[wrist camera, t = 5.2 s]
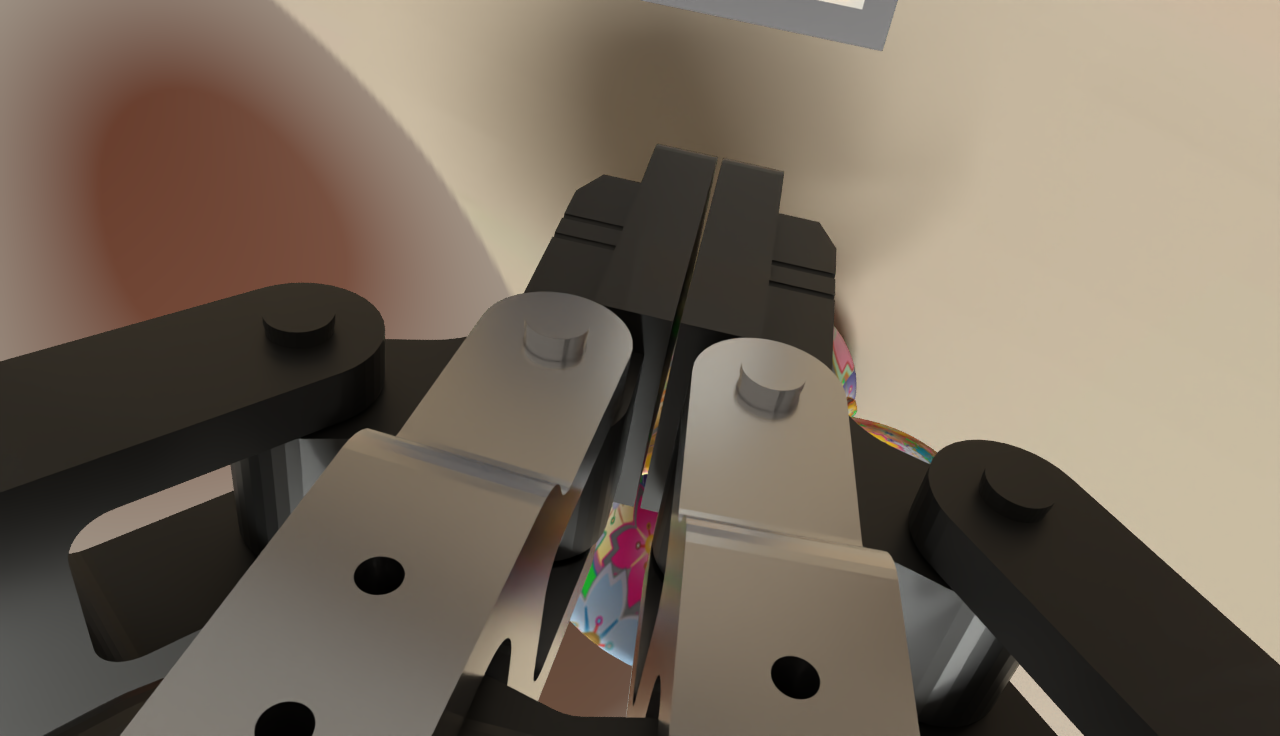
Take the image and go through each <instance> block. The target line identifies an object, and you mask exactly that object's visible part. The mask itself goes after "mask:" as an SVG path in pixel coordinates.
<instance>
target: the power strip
mask: <svg viewBox="0 0 1280 736" xmlns="http://www.w3.org/2000/svg"><path fill="white" fill-rule="evenodd" d="M642 1H647V2H652V3H656V4H661V5H666V6H671V7H675V8H680V9H685V10H689V11H694V12H699V13H704V14H708V15H713V16H718V17H723V18H727V19H732V20H737V21H742V22H746V23H751V24H756V25H760V26H765V27H770V28H775V29H779V30H784V31H789V32H794V33H798V34H803V35H808V36H813V37H817V38H822V39H827V40H831V41H836V42H841V43H846V44H850V45H855V46H860V47H865V48H869V49H874V50H879V51H883V47H884V44H885V41H886V37H887V34H888V31H889V28H890V24H891V21H892V18H893V14H894V11H895V8H896V5H897V1H898V0H865V1H864V5H863V8H862V9H857V8H853V7H848V6H843V5H838V4H834V3H829V2H824V1H819V0H642Z"/></svg>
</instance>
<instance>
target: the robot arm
mask: <svg viewBox="0 0 1280 736" xmlns="http://www.w3.org/2000/svg"><path fill="white" fill-rule="evenodd" d="M717 159H718V157H715V156H710V155H706V154H701V153H697V152H692V151H688V150H683V149H679V148H674V147H670V146H665V145H661V144H657V145H656V147H655V149H654V152H653V154H652V157H651V159H650V162H649V164H648V167H647V170H646V172H645V175H644V177H643V180H642V182H641V183H639V182H635V181H630V180H626V179H621V178H617V177H612V176H608V175H602V176H601V177H599V178H597V179H595V180H594V181H592V182H590V183H588V184H587V185H585V186H583V187H581V188H580V189H578V190H576V192H575V194H574V196H573V198H572V200H571V202H570V204H569V206H568V208H567V210H566V212H565V214H564V218H562V219H561V221H560V223H559V225H558V227H557V229H556V231H555V235H554V237H552V239H551V241H550V243H549V245H548V247H547V249H546V251H545V253H544V255H543V257H542V258H541V260H540V262H539V264H538V266H537V268H536V270H535V272H534V274H533V276H532V278H531V280H530V282H529V284H528V286H527V288H526V290H525V292H524V293H523V294H518V295H514V296H511V297H508V298H505V299H503V300H501V301H499V302H497V303H496V304H494V305H493V306H491V307H490V308H489V309H488V310H487V311H486V312H485V313H484V314H483V315H482V317H481V318H480V319H479V321H478V322H477V324H476V325H475V326H474V328H473V329H472V331H471V332H470V333H469V335H468V336H467V337H463V338H456V339H448V340H399V339H385V326H384V320H383V319H382V316H381V315H380V312H379V311H378V310H377V309H376V308H375V307H374V305H372V304H371V303H370V302H368V301H367V300H366V299H365V298H363V297H361V296H359V295H357V294H356V293H353V292H351V291H348V290H345V289H342V288H338V287H335V286H331V285H324V284H317V283H288V284H280V285H274V286H269V287H265V288H261V289H257V290H254V291H250V292H247V293H243V294H240V295H236V296H232V297H229V298H225V299H221V300H218V301H214V302H211V303H208V304H204V305H200V306H197V307H193V308H190V309H186V310H183V311H179V312H175V313H172V314H168V315H164V316H161V317H157V318H154V319H150V320H147V321H144V322H139V323H136V324H132V325H129V326H125V327H122V328H118V329H115V330H111V331H107V332H104V333H100V334H97V335H93V336H90V337H86V338H82V339H79V340H75V341H72V342H68V343H65V344H61V345H58V346H54V347H51V348H47V349H43V350H40V351H36V352H33V353H29V354H25V355H22V356H19V357H15V358H11V359H8V360H4V361H0V736H1058V735H1057V734H1056V733H1055V732H1054V731H1053V730H1052V729H1051V728H1050V726H1049V725H1048V724H1047V723H1046V722H1045V721H1044V720H1043V718H1042V717H1041V716H1040V715H1039V714H1038V713H1037V712H1036V711H1035V709H1034V708H1033V707H1032V706H1031V705H1030V704H1029V703H1028V701H1027V700H1026V699H1025V698H1024V697H1023V696H1022V695H1021V693H1020V692H1019V691H1018V690H1017V689H1016V688H1015V687H1014V686H1013V684H1012V683H1011V682H1010V681H1009V680H1010V679H1011V677H1012V675H1013V674H1014V672H1015V671H1016V669H1017V668H1018V666H1019V664H1020V665H1021V666H1022V667H1023V668H1024V670H1025V671H1026V672H1027V673H1028V674H1029V675H1030V676H1031V677H1032V678H1033V679H1034V681H1035V682H1036V683H1037V684H1038V685H1039V686H1040V687H1041V688H1042V689H1043V691H1044V692H1045V693H1046V694H1047V695H1048V696H1049V697H1050V698H1051V699H1052V701H1053V702H1054V703H1055V704H1056V705H1057V706H1058V707H1059V708H1060V709H1061V711H1062V712H1063V713H1064V714H1065V715H1066V716H1067V717H1068V718H1069V719H1070V721H1071V722H1072V723H1073V724H1074V725H1075V726H1076V727H1077V728H1078V729H1079V730H1080V732H1081V733H1082V734H1083V735H1084V736H1280V665H1279V664H1278V663H1277V662H1276V661H1275V660H1274V659H1273V658H1271V657H1270V656H1269V655H1268V654H1267V653H1266V652H1265V651H1264V650H1262V649H1261V648H1260V647H1259V646H1258V645H1257V644H1256V643H1255V642H1254V641H1252V640H1251V639H1250V638H1249V637H1248V636H1247V635H1246V634H1245V633H1243V632H1242V631H1241V630H1240V629H1239V628H1238V627H1237V626H1236V625H1235V624H1233V623H1232V622H1231V621H1230V620H1229V619H1228V618H1227V617H1226V616H1224V615H1223V614H1222V613H1221V612H1220V611H1219V610H1218V609H1217V608H1216V607H1214V606H1213V605H1212V604H1211V603H1210V602H1209V601H1208V600H1207V599H1205V598H1204V597H1203V596H1202V595H1201V594H1200V593H1199V592H1198V591H1197V590H1195V589H1194V588H1193V587H1192V586H1191V585H1190V584H1189V583H1188V582H1186V581H1185V580H1184V579H1183V578H1182V577H1181V576H1180V575H1179V574H1178V573H1176V572H1175V571H1174V570H1173V569H1172V568H1171V567H1170V566H1169V565H1167V564H1166V563H1165V562H1164V561H1163V560H1162V559H1161V558H1160V557H1159V556H1157V555H1156V554H1155V553H1154V552H1153V551H1152V550H1151V549H1150V548H1148V547H1147V546H1146V545H1145V544H1144V543H1143V542H1142V541H1141V540H1140V539H1138V538H1137V537H1136V536H1135V535H1134V534H1133V533H1132V532H1131V531H1129V530H1128V529H1127V528H1126V527H1125V526H1124V525H1123V524H1122V523H1121V522H1119V521H1118V520H1117V519H1116V518H1115V517H1114V516H1113V515H1112V514H1110V513H1109V512H1108V511H1107V510H1106V509H1105V508H1104V507H1103V506H1102V505H1100V504H1099V503H1098V502H1097V501H1096V500H1095V499H1094V498H1093V497H1091V496H1090V495H1089V494H1088V493H1087V492H1086V491H1085V490H1084V489H1083V488H1081V487H1080V486H1079V485H1078V484H1077V483H1076V482H1075V481H1074V480H1072V479H1071V478H1070V477H1069V476H1068V475H1066V474H1065V473H1064V472H1063V471H1061V470H1060V469H1059V468H1057V467H1056V466H1054V465H1053V464H1051V463H1050V462H1048V461H1047V460H1045V459H1043V458H1041V457H1039V456H1037V455H1035V454H1033V453H1031V452H1028V451H1026V450H1024V449H1021V448H1018V447H1015V446H1012V445H1009V444H1005V443H1000V442H995V441H988V440H966V441H961V442H956V443H953V444H951V445H948V446H946V447H944V448H943V449H942V450H940V451H939V452H938V453H937V454H936V455H935V456H934V458H933V459H932V461H931V463H930V464H928V463H926V462H924V461H922V460H920V459H918V458H916V457H913V456H911V455H909V454H907V453H905V452H903V451H901V450H898V449H896V448H894V447H892V446H890V445H888V444H886V443H885V442H883V441H881V440H879V439H878V438H876V437H874V436H873V435H871V434H870V433H868V432H867V431H866V430H864V429H863V428H862V427H861V426H859V425H858V424H857V423H856V422H855V421H854V420H853V419H852V418H851V417H850V416H849V415H848V405H847V398H846V393H845V390H844V388H843V386H842V384H841V382H840V381H839V379H838V378H837V377H836V375H835V374H834V373H833V372H832V361H833V331H834V302H835V300H834V296H835V279H834V278H835V272H836V247H835V246H834V244H833V243H832V241H831V240H830V238H829V237H828V235H827V234H826V232H825V231H824V229H823V228H822V226H821V224H820V223H819V222H815V221H811V220H806V219H802V218H797V217H793V216H788V215H784V214H779V206H780V198H781V191H782V184H783V176H784V171H779V170H775V169H770V168H766V167H761V166H757V165H752V164H748V163H743V162H739V161H734V160H729V159H725V158H723V161H722V164H721V168H720V172H719V176H718V180H717V184H716V188H715V192H714V195H713V199H712V203H711V207H710V211H709V215H708V219H707V222H706V226H705V230H704V234H703V238H702V242H701V246H700V250H699V253H698V257H697V261H696V256H697V252H698V247H699V242H700V238H701V233H702V229H703V224H704V220H705V215H706V210H707V206H708V201H709V197H710V192H711V188H712V183H713V178H714V174H715V169H716V164H717ZM695 261H696V265H695ZM694 265H695V269H694ZM693 270H694V273H693ZM692 274H693V277H692ZM691 279H692V280H691ZM690 283H691V284H690ZM675 345H676V346H675ZM674 349H675V351H674ZM673 352H674V355H673ZM672 356H673V360H672ZM671 360H672V364H671ZM670 364H671V369H670V373H669V378H668V383H667V387H666V392H665V396H664V401H663V406H662V410H661V415H660V419H659V424H658V429H657V433H656V438H655V442H654V447H653V451H652V456H651V461H650V465H649V470H648V474H647V479H646V484H645V488H644V493H643V497H642V502H641V507H640V508H642V509H646V510H650V511H654V512H659V513H658V517H657V522H656V526H655V531H654V535H653V540H652V544H651V549H650V553H649V557H648V561H647V566H646V570H645V574H644V579H643V587H642V595H641V603H640V611H639V619H638V627H637V635H636V643H635V650H634V658H633V667H632V674H631V683H630V690H629V698H628V706H627V714H626V717H578V716H571V715H567V714H563V713H561V712H558V711H556V710H554V709H551V708H550V707H548V706H546V705H544V704H542V703H540V702H538V699H539V696H540V694H541V691H542V689H543V686H544V684H545V681H546V679H547V676H548V673H549V671H550V669H551V666H552V664H553V661H554V659H555V656H556V654H557V651H558V649H559V646H560V643H561V641H562V638H563V636H564V633H565V630H566V628H567V626H568V623H569V621H570V618H571V616H572V613H573V611H574V608H575V606H576V603H577V601H578V598H579V595H580V593H581V590H582V588H583V585H584V583H585V580H586V578H587V575H588V573H589V570H590V568H591V565H592V562H593V558H594V553H595V548H596V543H597V541H598V540H599V538H600V537H601V536H602V534H603V532H604V530H605V527H606V525H607V521H608V518H609V514H610V511H611V507H612V504H613V502H615V503H619V504H624V505H628V506H632V507H634V504H635V500H636V496H637V492H638V488H639V484H640V480H641V476H642V473H643V469H644V465H645V461H646V457H647V453H648V449H649V445H650V442H651V438H652V434H653V430H654V426H655V422H656V418H657V414H658V411H659V407H660V403H661V399H662V395H663V391H664V387H665V383H666V380H667V376H668V372H669V368H670ZM230 464H231V471H232V479H233V487H234V491H232V492H229V493H227V494H225V495H222V496H219V497H217V498H214V499H212V500H209V501H207V502H204V503H202V504H199V505H197V506H194V507H191V508H189V509H187V510H184V511H182V512H179V513H176V514H174V515H172V516H169V517H166V518H164V519H162V520H159V521H157V522H154V523H151V524H149V525H146V526H144V527H141V528H139V529H136V530H134V531H132V532H129V533H126V534H124V535H121V536H119V537H116V538H114V539H111V540H109V541H107V542H104V543H102V544H99V545H96V546H94V547H91V548H89V549H86V550H83V551H80V552H76V553H72V554H69V550H70V547H71V544H72V543H73V541H74V539H75V537H76V536H77V535H78V534H79V532H80V531H81V530H82V529H83V528H84V527H85V526H86V525H87V524H89V523H90V522H91V521H93V520H94V519H95V518H97V517H99V516H100V515H102V514H104V513H106V512H108V511H110V510H113V509H115V508H117V507H120V506H123V505H125V504H128V503H131V502H133V501H136V500H139V499H141V498H144V497H146V496H149V495H152V494H154V493H157V492H159V491H162V490H165V489H167V488H170V487H173V486H175V485H178V484H181V483H183V482H186V481H188V480H191V479H194V478H196V477H199V476H201V475H204V474H207V473H209V472H211V471H214V470H217V469H220V468H222V467H225V466H227V465H230Z"/></svg>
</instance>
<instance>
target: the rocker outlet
mask: <svg viewBox="0 0 1280 736" xmlns="http://www.w3.org/2000/svg"><path fill="white" fill-rule="evenodd" d="M819 1H824V2H829V3H834V4H838V5H843V6H848V7H853V8H857V9H862V8H863V5H864V1H865V0H819Z"/></svg>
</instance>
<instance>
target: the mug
mask: <svg viewBox="0 0 1280 736" xmlns="http://www.w3.org/2000/svg"><path fill="white" fill-rule="evenodd" d="M675 346H676V345H675ZM674 351H675V349H674ZM673 355H674V352H673ZM672 360H673V356H672ZM672 360H671V364H672ZM671 364H670V368H669V372H668V376H667V380H666V383H665V387H664V391H663V395H662V399H661V403H660V407H659V411H658V414H657V418H656V422H655V426H654V430H653V434H652V438H651V442H650V445H649V449H648V453H647V457H646V461H645V465H644V469H643V473H642V476H641V480H640V484H639V488H638V492H637V496H636V500H635V504H634V507H632V506H628V505H624V504H619V503H615V502H613V504H612V507H611V511H610V514H609V518H608V521H607V525H606V527H605V530H604V532H603V534H602V536H601V537H600V538H599V540H598V541H597V543H596V548H595V553H594V558H593V562H592V565H591V568H590V570H589V573H588V575H587V578H586V580H585V583H584V585H583V588H582V590H581V593H580V595H579V598H578V601H577V603H576V606H575V608H574V611H573V613H572V616H571V618H570V621H571V622H572V623H573V624H574V625H575V626H576V627H577V628H578V629H579V630H580V631H581V632H582V633H583V634H584V635H585V636H586V637H587V638H589V639H590V640H591V641H592V642H594V643H595V644H596V645H598V646H599V647H601V648H602V649H603V650H605V651H606V652H608V653H609V654H611V655H613V656H615V657H616V658H618V659H620V660H622V661H623V662H625V663H627V664H629V665H631V666H633V658H634V650H635V643H636V635H637V627H638V619H639V611H640V603H641V595H642V587H643V579H644V574H645V570H646V566H647V561H648V557H649V553H650V549H651V544H652V540H653V535H654V531H655V526H656V522H657V517H658V513H659V512H654V511H650V510H646V509H642V508H640V507H641V502H642V497H643V493H644V488H645V484H646V479H647V474H648V470H649V465H650V461H651V456H652V451H653V447H654V442H655V438H656V433H657V429H658V424H659V419H660V415H661V410H662V406H663V401H664V396H665V392H666V387H667V383H668V378H669V373H670V369H671ZM832 372H833V373H834V374H835V375H836V377H837V378H838V379H839V381H840V382H841V384H842V386H843V388H844V390H845V393H846V398H847V405H848V415H849V416H850V417H851V418H852V419H853V420H854V421H855V422H856V423H857V424H858V425H859V426H861V427H862V428H863V429H864V430H866V431H867V432H868V433H870V434H871V435H873V436H874V437H876V438H878V439H879V440H881V441H883V442H885V443H886V444H888V445H890V446H892V447H894V448H896V449H898V450H901V451H903V452H905V453H907V454H909V455H911V456H913V457H916V458H918V459H920V460H922V461H924V462H926V463H928V464H930V463H931V461H932V459H933V458H934V456H935V455H936V454H937V452H936V451H934V450H933V449H932V448H930V447H929V446H927V445H926V444H924V443H923V442H921V441H919V440H918V439H916V438H914V437H912V436H910V435H908V434H906V433H904V432H902V431H899V430H897V429H895V428H892V427H889V426H886V425H883V424H880V423H876V422H873V421H869V420H864V419H860V418H855V417H853V416H854V415H855V414H856V412H857V406H856V401H855V396H856V373H855V367H854V364H853V360H852V357H851V355H850V352H849V350H848V347H847V345H846V343H845V342H844V340H843V338H842V336H841V335H840V334H839V332H838V331H837V329H836V328H835V327H834V331H833V361H832Z"/></svg>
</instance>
